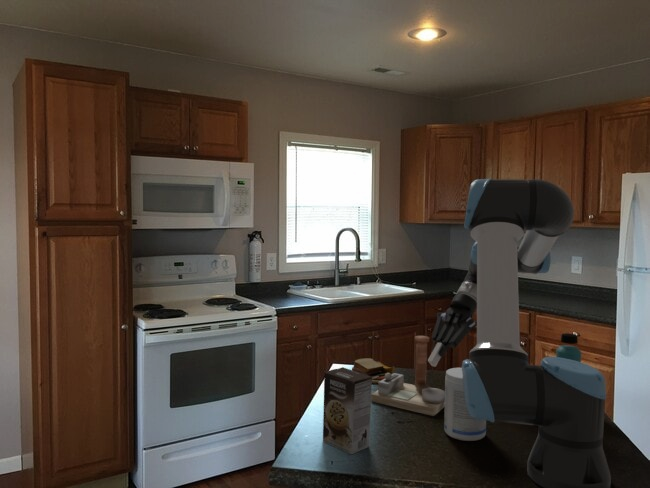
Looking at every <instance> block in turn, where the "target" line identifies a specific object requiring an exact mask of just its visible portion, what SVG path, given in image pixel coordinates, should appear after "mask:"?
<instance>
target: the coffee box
mask: <svg viewBox="0 0 650 488" xmlns="http://www.w3.org/2000/svg"><path fill="white" fill-rule="evenodd" d="M323 381H324V382H323V419H322V420H323V421H322V422H323V423H322V424H323V425H322V442H323V443H325V444H328V445H330V446H332V447H334V448H336V449H338V450H341V451H344V452H345V453H347V454H349V455H353V454H356V453H358V452H360V451H362V450H365V449H367V448H370V436H371V431H370V430H371V410H372V409H371V408H372V401H371V394H372V384H373V383H372V376H368V375H365V374H362V373H359V372H356V371H353V370H352V369H350V368H346V367H339V368H335V369H334V368H333V369H331V370H327V371H325V372H324V377H323Z"/></svg>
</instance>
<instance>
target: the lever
mask: <svg viewBox="0 0 650 488" xmlns="http://www.w3.org/2000/svg"><path fill="white" fill-rule="evenodd" d="M414 342H416V344H415V345H416V348H415V371H414V373H415V377H414V379H415V380H414V385H415V387H416V388H417V389H418V390H419V391H420V392H421V393H422V400H424V401H426V402H429V403H442V402H444V401H445V390H443V389H440V388H435V387H430V386H429V385H428V384H427V362H428V343H430V336H427V335H415V336H414Z"/></svg>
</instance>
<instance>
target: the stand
mask: <svg viewBox="0 0 650 488" xmlns="http://www.w3.org/2000/svg"><path fill="white" fill-rule="evenodd" d="M404 376H405V375H404V374H401V373H396V372H393V374H392V375H391V374H390V373H386V374H385V379H383V380H381V381H379V382H378V383H377V384H378V385H377V390H376V391H374V392H371V403H372V402H373V403H377V404H381V405H386V406H389V407H390V406H391V407H395V408H398V409H403V410H407V411H411V412H414V413H420V414H423V415H428V416H432V417H434V416H436V415H437V414H438V413H440V412H441V411H442V410H443V409H445V401H444V402H442V403H429V402H426V401H424V400H422V393H421V392H420V391H419V390H418V389H417V388H416V387H415V384H411V383H408V382H407V383H406V382H404Z"/></svg>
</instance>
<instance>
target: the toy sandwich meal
mask: <svg viewBox="0 0 650 488" xmlns="http://www.w3.org/2000/svg"><path fill="white" fill-rule="evenodd" d="M351 370H353V371H356V372H359V373H362V374H365V375H368V376H372V384H378V382H379V381H381V380H383V379H385V374H386V373H390V374H391V375H392V374H393V373H395V366H391V367H389V366H387V365H385V364H384V363H382V362H380V361H376V360H374V359H373V358H368V357H367V358H359V359H355V360H354V363H353V366H352V367H351Z"/></svg>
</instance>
